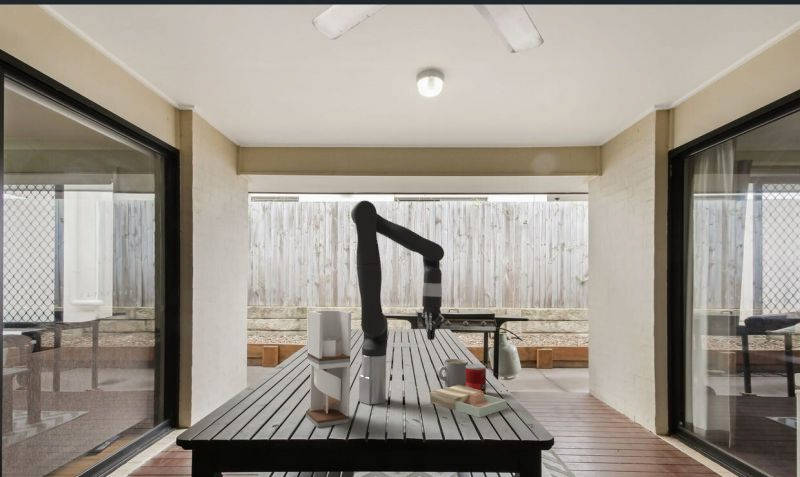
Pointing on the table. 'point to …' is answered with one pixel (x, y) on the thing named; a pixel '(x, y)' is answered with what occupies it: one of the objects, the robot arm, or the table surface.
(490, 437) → the table surface
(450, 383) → the coffee mug
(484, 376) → the canned food
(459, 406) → the tray
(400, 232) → the robot arm
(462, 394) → the plate
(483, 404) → the tile front
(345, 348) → the display case
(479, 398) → the tile back
